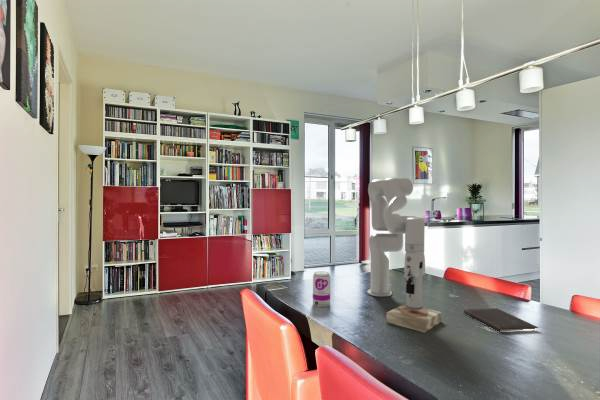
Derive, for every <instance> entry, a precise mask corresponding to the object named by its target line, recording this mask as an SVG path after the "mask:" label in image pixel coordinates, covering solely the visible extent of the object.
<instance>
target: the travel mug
mask: <svg viewBox="0 0 600 400" xmlns="http://www.w3.org/2000/svg"><path fill="white" fill-rule="evenodd" d="M419 264H420V266H419V277H417V278H415V277H414V283H413V284H414V294H408V293H406V292H405V293H406V294H405V296H406V297H405V304H406V307H407V308H408V309H411V310H421V309H422V308H423V276H424V275H423V270H422V269H423V268H422V262H420V263H419ZM409 276H412V274H409ZM410 279H411V280H412V278H410Z"/></svg>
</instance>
